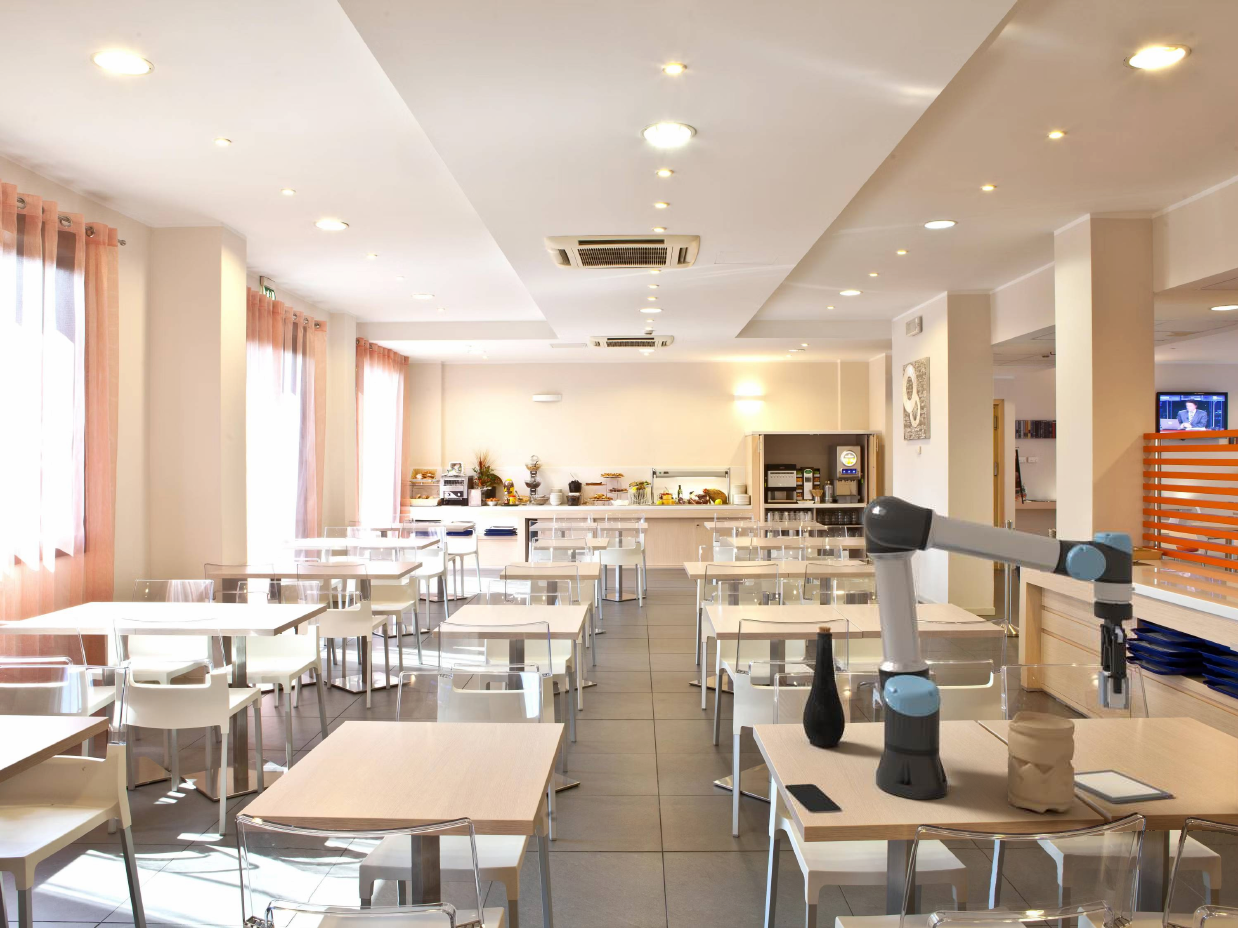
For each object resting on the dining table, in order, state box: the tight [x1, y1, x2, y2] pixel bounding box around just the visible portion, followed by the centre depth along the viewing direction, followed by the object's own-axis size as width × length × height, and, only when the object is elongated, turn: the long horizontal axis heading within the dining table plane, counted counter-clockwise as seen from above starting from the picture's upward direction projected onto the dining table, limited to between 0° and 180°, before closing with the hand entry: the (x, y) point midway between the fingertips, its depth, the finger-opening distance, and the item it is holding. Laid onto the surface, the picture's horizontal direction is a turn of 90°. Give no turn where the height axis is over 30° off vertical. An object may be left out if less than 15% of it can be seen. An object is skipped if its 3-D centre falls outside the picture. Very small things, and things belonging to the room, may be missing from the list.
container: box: [1007, 710, 1075, 814], centre depth 174 cm, size 13×13×18 cm
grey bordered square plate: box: [1074, 769, 1174, 805], centre depth 185 cm, size 16×16×1 cm
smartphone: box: [784, 783, 842, 814], centre depth 176 cm, size 7×1×15 cm
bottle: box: [802, 626, 846, 749], centre depth 213 cm, size 11×11×30 cm
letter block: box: [1097, 670, 1130, 710], centre depth 185 cm, size 5×5×7 cm
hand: (1113, 703), depth 185 cm, fingers closed on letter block, 5 cm apart
